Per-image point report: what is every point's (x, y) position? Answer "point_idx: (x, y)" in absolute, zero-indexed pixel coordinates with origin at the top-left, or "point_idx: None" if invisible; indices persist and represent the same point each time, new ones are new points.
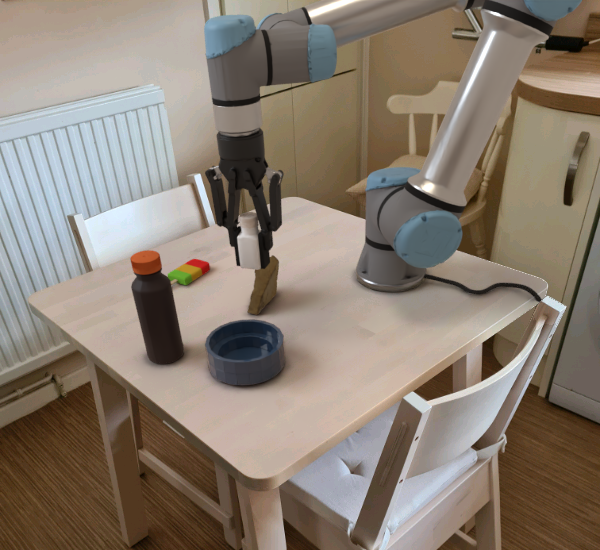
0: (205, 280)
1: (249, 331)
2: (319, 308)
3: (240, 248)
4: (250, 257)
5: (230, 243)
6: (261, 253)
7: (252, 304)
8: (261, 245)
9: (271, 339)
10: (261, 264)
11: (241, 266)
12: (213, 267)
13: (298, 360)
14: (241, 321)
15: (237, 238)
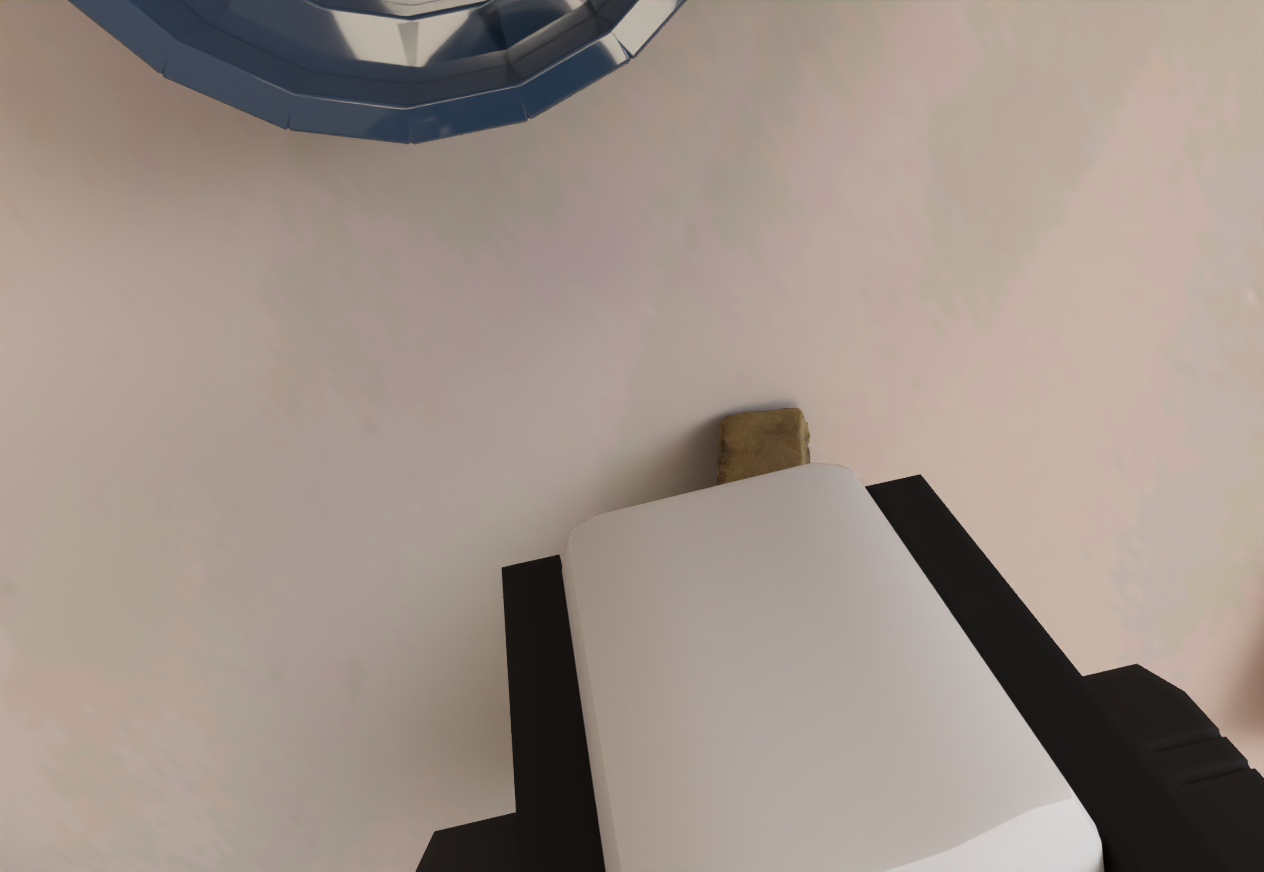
0: (1253, 604)
1: (541, 45)
2: (375, 668)
3: (925, 650)
4: (711, 597)
5: (1176, 702)
6: (544, 725)
7: (777, 457)
8: (540, 850)
9: (283, 30)
10: (548, 595)
11: (832, 468)
12: (1257, 733)
13: (41, 18)
14: (612, 26)
15: (1069, 798)
